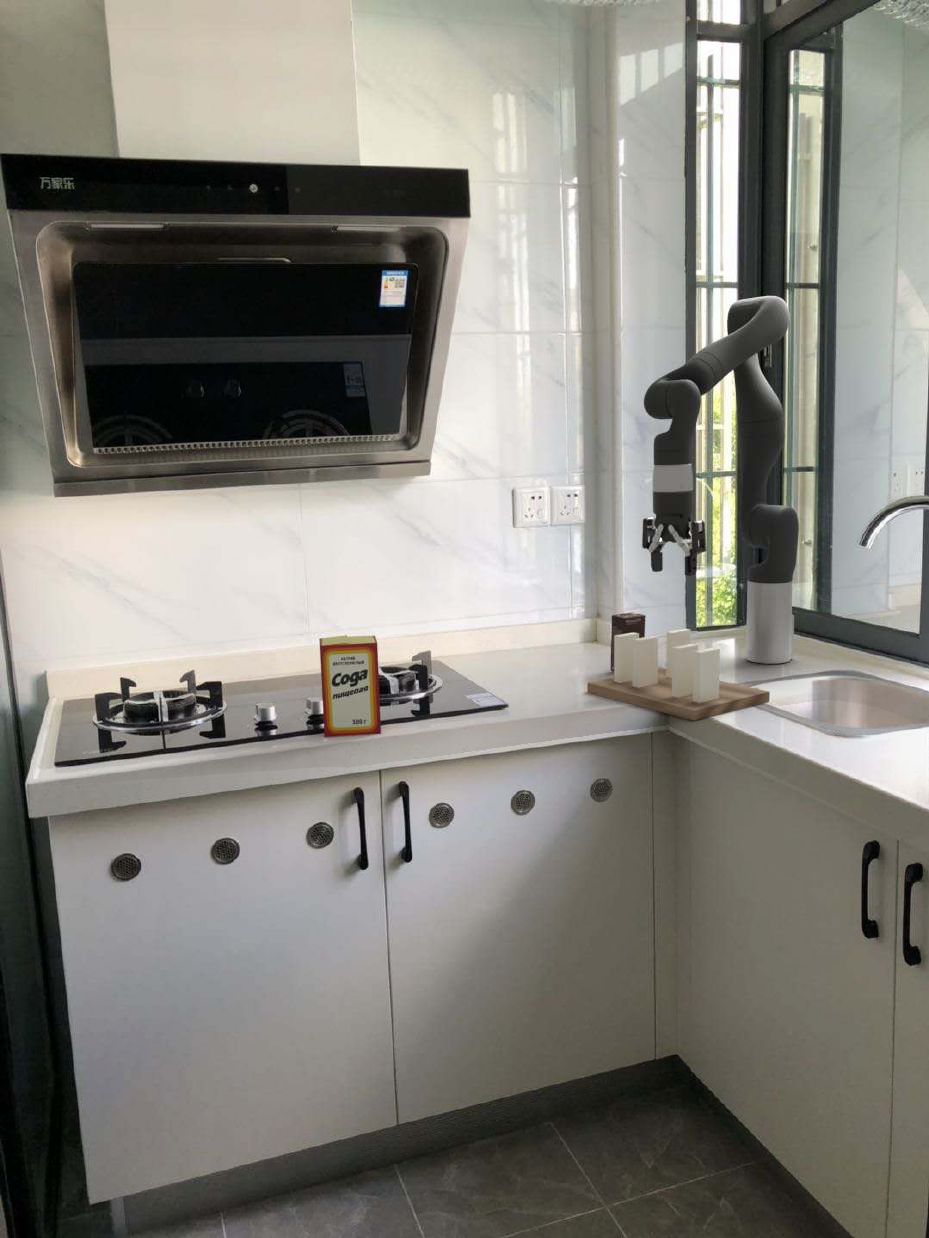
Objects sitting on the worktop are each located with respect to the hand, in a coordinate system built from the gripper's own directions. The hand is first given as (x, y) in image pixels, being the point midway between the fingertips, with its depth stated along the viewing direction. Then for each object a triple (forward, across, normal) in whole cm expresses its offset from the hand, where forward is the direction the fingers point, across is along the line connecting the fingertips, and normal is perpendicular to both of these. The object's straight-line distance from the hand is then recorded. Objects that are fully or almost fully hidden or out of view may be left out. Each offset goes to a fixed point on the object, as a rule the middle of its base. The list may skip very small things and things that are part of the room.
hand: (673, 573), depth 195 cm
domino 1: (+20, +4, +9) cm, 22 cm away
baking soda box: (+21, +13, +64) cm, 69 cm away
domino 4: (+20, -12, +9) cm, 25 cm away
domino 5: (+20, -16, +9) cm, 28 cm away
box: (+22, +14, -2) cm, 27 cm away
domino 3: (+20, 0, -1) cm, 20 cm away
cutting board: (+22, -6, +6) cm, 24 cm away
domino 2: (+20, -2, +9) cm, 22 cm away
